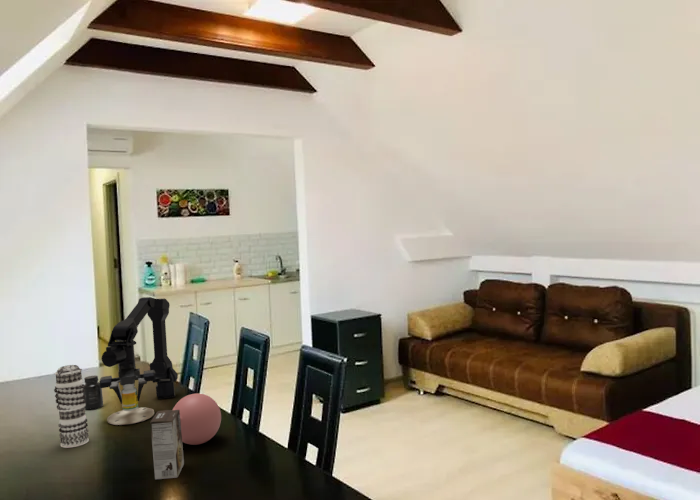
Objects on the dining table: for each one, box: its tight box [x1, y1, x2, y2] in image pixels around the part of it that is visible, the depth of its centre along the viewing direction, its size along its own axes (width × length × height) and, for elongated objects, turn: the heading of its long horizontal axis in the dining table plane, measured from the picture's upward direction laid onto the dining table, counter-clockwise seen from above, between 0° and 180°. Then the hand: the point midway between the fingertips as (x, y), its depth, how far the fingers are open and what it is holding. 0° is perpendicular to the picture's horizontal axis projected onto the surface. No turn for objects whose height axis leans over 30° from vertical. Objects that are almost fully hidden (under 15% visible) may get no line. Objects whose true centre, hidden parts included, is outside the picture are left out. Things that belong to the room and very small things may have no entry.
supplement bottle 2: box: [120, 383, 139, 411], centre depth 214 cm, size 5×5×10 cm
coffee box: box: [150, 409, 185, 480], centre depth 165 cm, size 9×6×16 cm
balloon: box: [172, 392, 222, 446], centre depth 184 cm, size 15×20×15 cm
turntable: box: [106, 407, 155, 426], centre depth 214 cm, size 16×16×1 cm
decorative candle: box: [53, 364, 90, 449], centre depth 192 cm, size 9×9×25 cm
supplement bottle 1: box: [82, 375, 104, 411], centre depth 230 cm, size 7×7×12 cm
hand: (130, 402), depth 214 cm, fingers closed on supplement bottle 2, 5 cm apart
